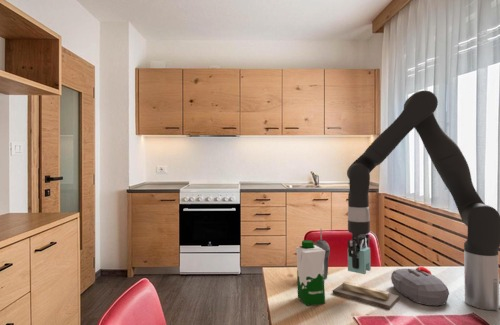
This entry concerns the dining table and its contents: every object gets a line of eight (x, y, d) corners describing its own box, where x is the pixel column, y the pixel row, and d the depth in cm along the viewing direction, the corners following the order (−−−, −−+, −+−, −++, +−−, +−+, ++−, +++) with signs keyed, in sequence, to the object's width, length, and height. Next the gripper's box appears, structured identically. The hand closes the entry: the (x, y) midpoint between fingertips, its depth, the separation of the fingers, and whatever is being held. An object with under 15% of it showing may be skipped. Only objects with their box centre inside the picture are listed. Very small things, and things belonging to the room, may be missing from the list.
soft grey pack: (385, 286, 124) (417, 309, 104) (385, 264, 124) (417, 283, 104) (422, 284, 126) (461, 307, 106) (421, 262, 126) (460, 281, 106)
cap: (431, 278, 122) (435, 267, 126) (415, 271, 125) (419, 259, 129) (426, 290, 127) (429, 278, 130) (410, 282, 130) (414, 271, 133)
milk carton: (316, 293, 117) (315, 238, 117) (329, 304, 108) (328, 244, 108) (294, 296, 115) (293, 240, 115) (305, 307, 106) (304, 247, 106)
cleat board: (399, 299, 112) (399, 290, 112) (389, 309, 104) (389, 299, 104) (344, 285, 125) (344, 277, 125) (332, 293, 117) (332, 284, 117)
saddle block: (370, 269, 116) (370, 247, 116) (364, 274, 112) (364, 251, 112) (354, 266, 120) (354, 245, 120) (347, 270, 115) (347, 248, 115)
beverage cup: (311, 279, 131) (310, 230, 131) (313, 273, 138) (312, 227, 138) (330, 281, 129) (329, 231, 129) (331, 275, 136) (330, 227, 136)
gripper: (361, 223, 108) (361, 273, 108) (376, 217, 119) (377, 263, 119) (339, 220, 113) (340, 269, 113) (356, 215, 124) (357, 259, 124)
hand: (359, 265), depth 116 cm, fingers closed on saddle block, 5 cm apart
